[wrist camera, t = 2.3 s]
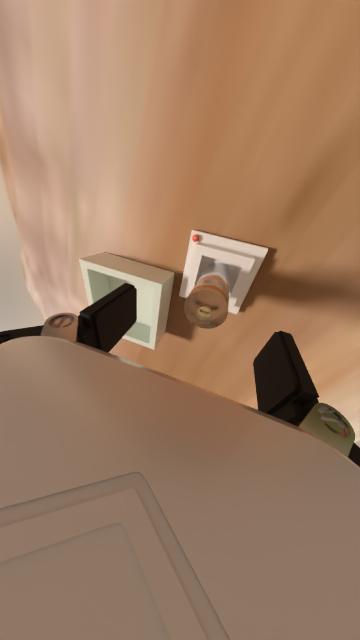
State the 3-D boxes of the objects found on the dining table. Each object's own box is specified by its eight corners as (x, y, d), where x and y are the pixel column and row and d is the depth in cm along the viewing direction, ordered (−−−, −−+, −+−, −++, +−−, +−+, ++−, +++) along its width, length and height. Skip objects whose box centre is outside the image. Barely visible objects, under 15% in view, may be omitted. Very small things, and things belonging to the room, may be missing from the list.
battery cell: (235, 266, 19) (235, 301, 11) (225, 292, 21) (218, 337, 13) (207, 258, 20) (186, 286, 12) (199, 285, 22) (178, 324, 14)
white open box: (174, 272, 23) (162, 284, 19) (165, 332, 30) (154, 349, 26) (104, 252, 25) (79, 259, 21) (111, 313, 32) (93, 327, 28)
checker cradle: (267, 247, 18) (271, 251, 16) (236, 310, 23) (236, 319, 21) (193, 229, 19) (188, 230, 17) (180, 293, 25) (175, 300, 23)
